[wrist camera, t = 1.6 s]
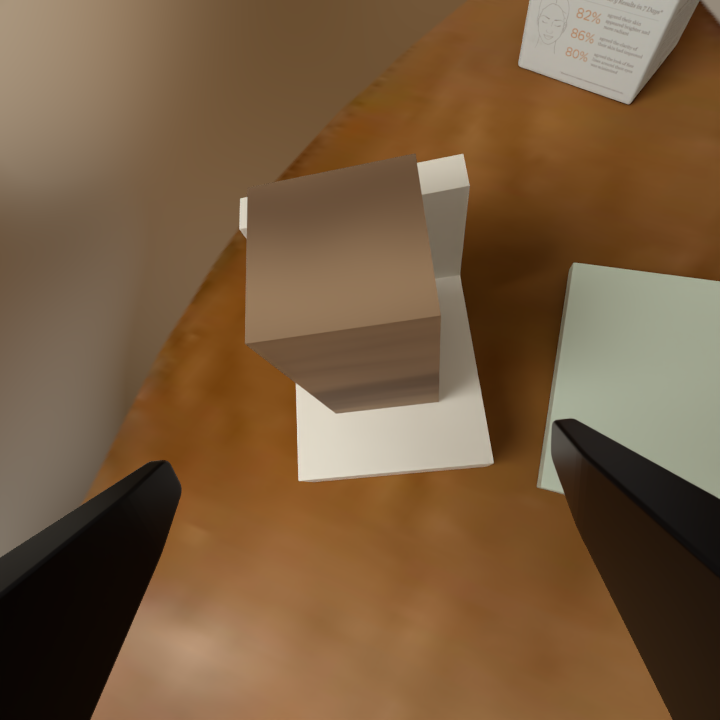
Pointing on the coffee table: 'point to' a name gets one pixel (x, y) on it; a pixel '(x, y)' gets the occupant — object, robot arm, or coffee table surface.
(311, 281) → the walnut block
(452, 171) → the ledge
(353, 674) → the coffee table surface
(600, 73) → the small box
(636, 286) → the pad
